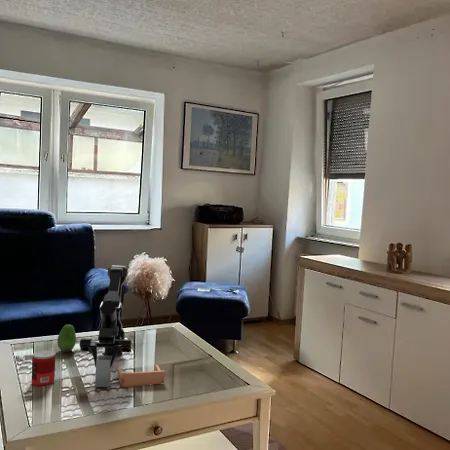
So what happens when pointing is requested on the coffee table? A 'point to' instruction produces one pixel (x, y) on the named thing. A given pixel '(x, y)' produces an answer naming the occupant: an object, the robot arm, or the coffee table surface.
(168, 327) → the coffee table surface
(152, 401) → the coffee table surface
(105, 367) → the block
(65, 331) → the fruit
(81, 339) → the robot arm
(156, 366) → the coupler dock
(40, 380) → the canned food
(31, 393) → the coffee table surface
